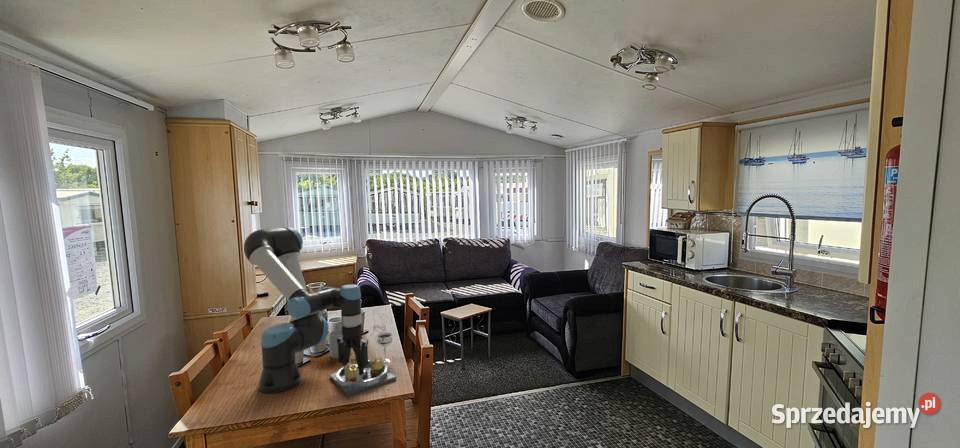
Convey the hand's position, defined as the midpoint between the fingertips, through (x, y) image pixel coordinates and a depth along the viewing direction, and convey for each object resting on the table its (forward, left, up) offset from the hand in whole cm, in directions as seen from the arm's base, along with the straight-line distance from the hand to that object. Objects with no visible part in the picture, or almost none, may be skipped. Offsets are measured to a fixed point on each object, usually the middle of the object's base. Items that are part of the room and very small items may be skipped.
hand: (353, 380), depth 152 cm
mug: (+8, +34, -2) cm, 35 cm away
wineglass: (+20, +13, -2) cm, 24 cm away
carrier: (+5, +3, -2) cm, 6 cm away
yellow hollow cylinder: (0, 0, 0) cm, 0 cm away
